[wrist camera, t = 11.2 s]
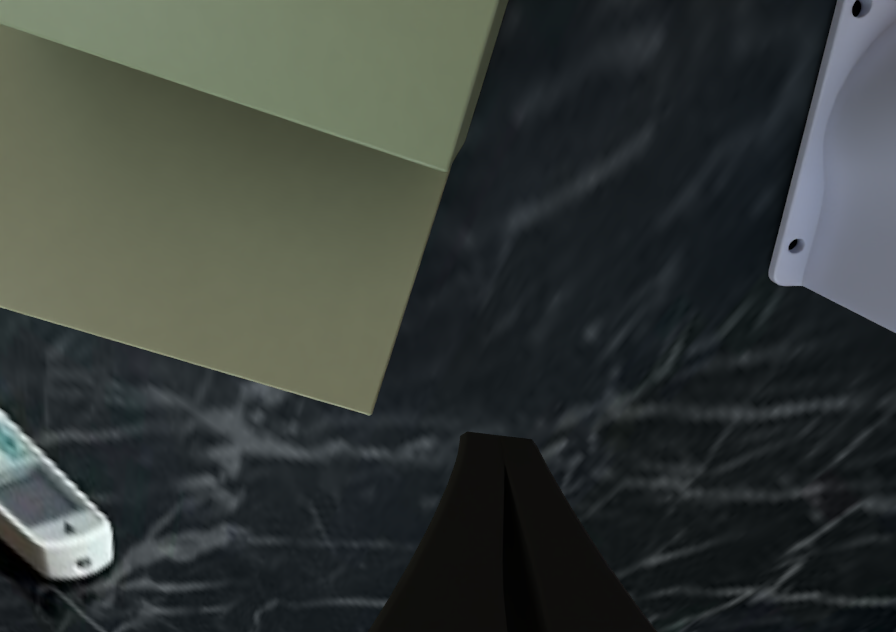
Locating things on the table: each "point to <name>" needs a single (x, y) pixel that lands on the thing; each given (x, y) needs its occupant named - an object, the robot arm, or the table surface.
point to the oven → (302, 59)
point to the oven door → (203, 225)
